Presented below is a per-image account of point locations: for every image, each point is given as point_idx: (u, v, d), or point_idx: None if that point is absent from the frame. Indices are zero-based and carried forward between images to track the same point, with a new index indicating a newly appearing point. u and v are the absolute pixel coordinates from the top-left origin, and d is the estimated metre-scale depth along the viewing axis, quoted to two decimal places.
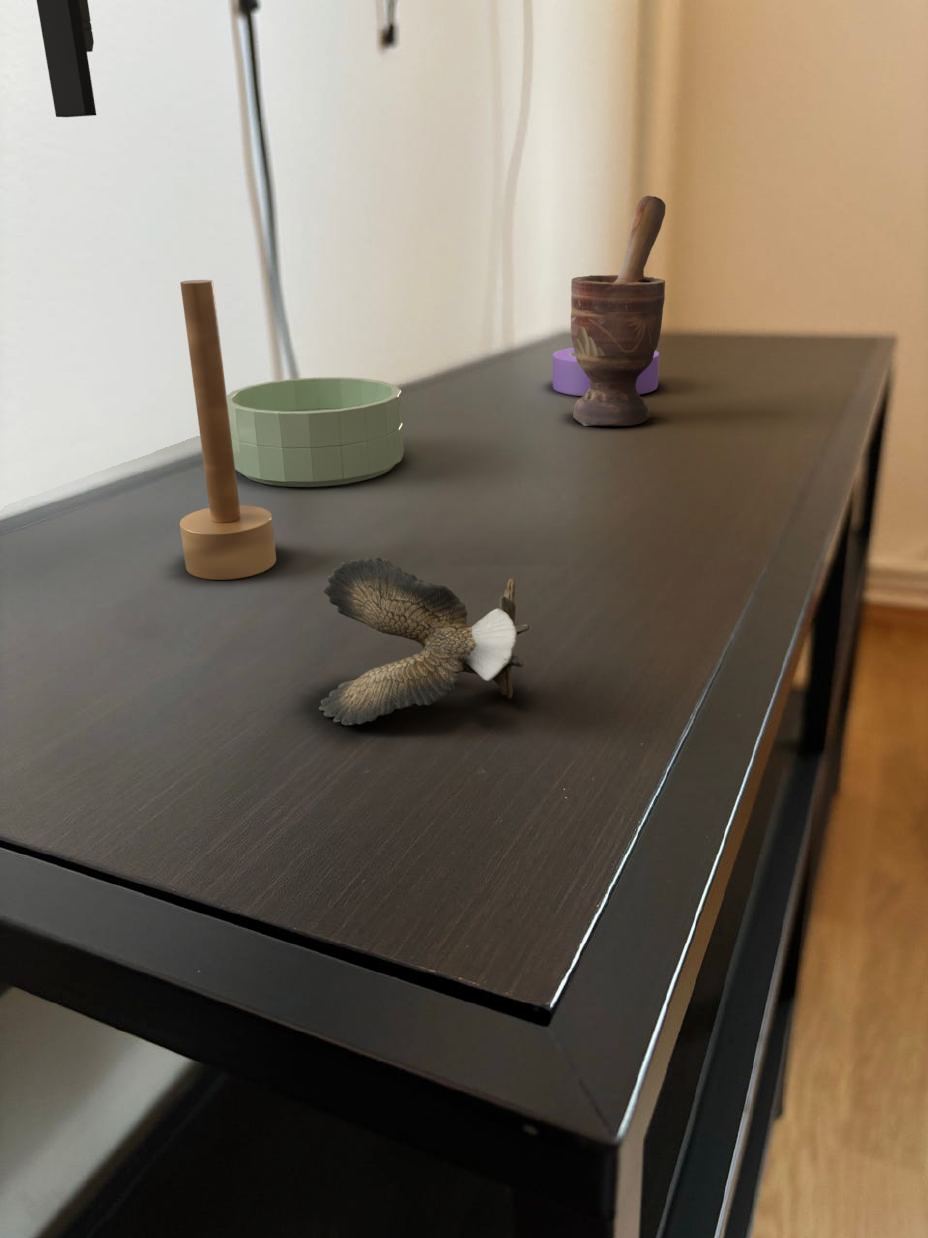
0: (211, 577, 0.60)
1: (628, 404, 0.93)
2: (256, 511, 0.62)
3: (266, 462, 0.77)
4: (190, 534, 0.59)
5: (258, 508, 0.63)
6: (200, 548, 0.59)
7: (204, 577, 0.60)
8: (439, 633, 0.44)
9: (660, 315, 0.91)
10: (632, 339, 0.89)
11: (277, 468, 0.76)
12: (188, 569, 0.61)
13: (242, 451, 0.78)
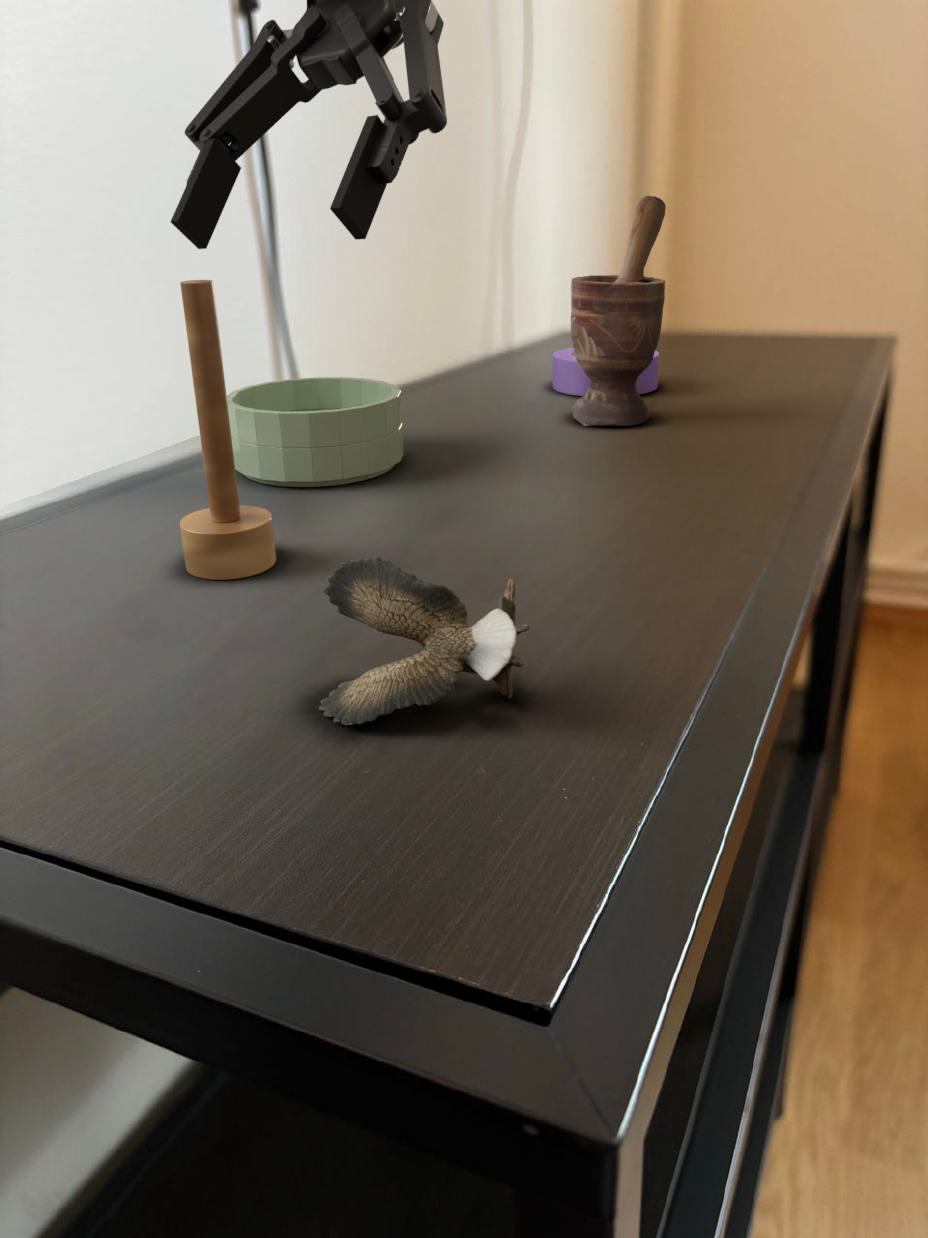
0: (211, 577, 0.60)
1: (628, 404, 0.93)
2: (256, 511, 0.62)
3: (266, 462, 0.77)
4: (190, 534, 0.59)
5: (258, 508, 0.63)
6: (200, 548, 0.59)
7: (204, 577, 0.60)
8: (439, 633, 0.44)
9: (660, 315, 0.91)
10: (632, 339, 0.89)
11: (277, 468, 0.76)
12: (188, 569, 0.61)
13: (242, 451, 0.78)
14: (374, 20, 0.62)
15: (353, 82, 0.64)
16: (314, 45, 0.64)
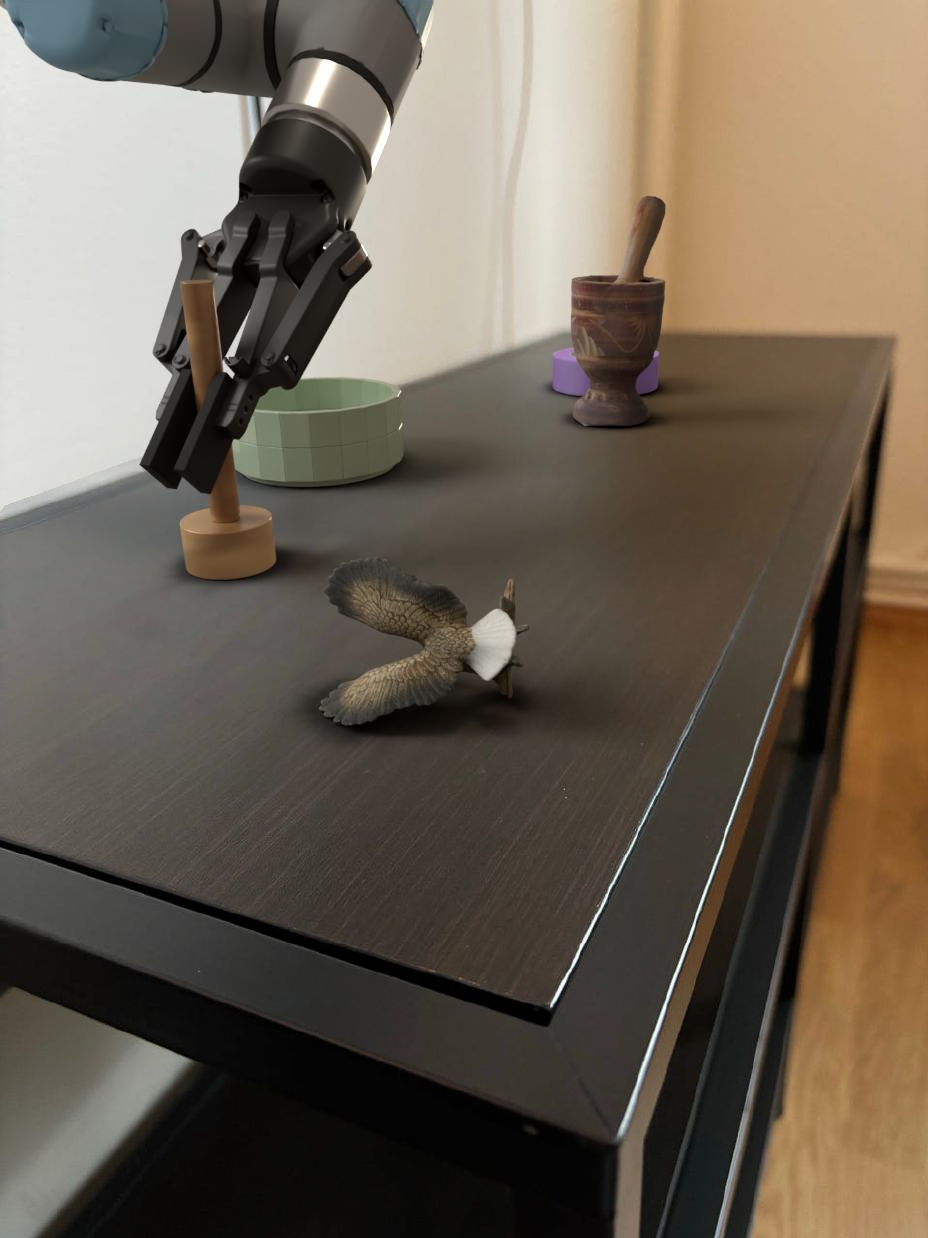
0: (211, 577, 0.60)
1: (628, 404, 0.93)
2: (256, 511, 0.62)
3: (266, 462, 0.77)
4: (190, 534, 0.59)
5: (258, 508, 0.63)
6: (200, 548, 0.59)
7: (204, 577, 0.60)
8: (439, 633, 0.44)
9: (660, 315, 0.91)
10: (632, 339, 0.89)
11: (277, 468, 0.76)
12: (188, 569, 0.61)
13: (242, 451, 0.78)
14: (307, 231, 0.59)
15: None
16: (248, 245, 0.60)
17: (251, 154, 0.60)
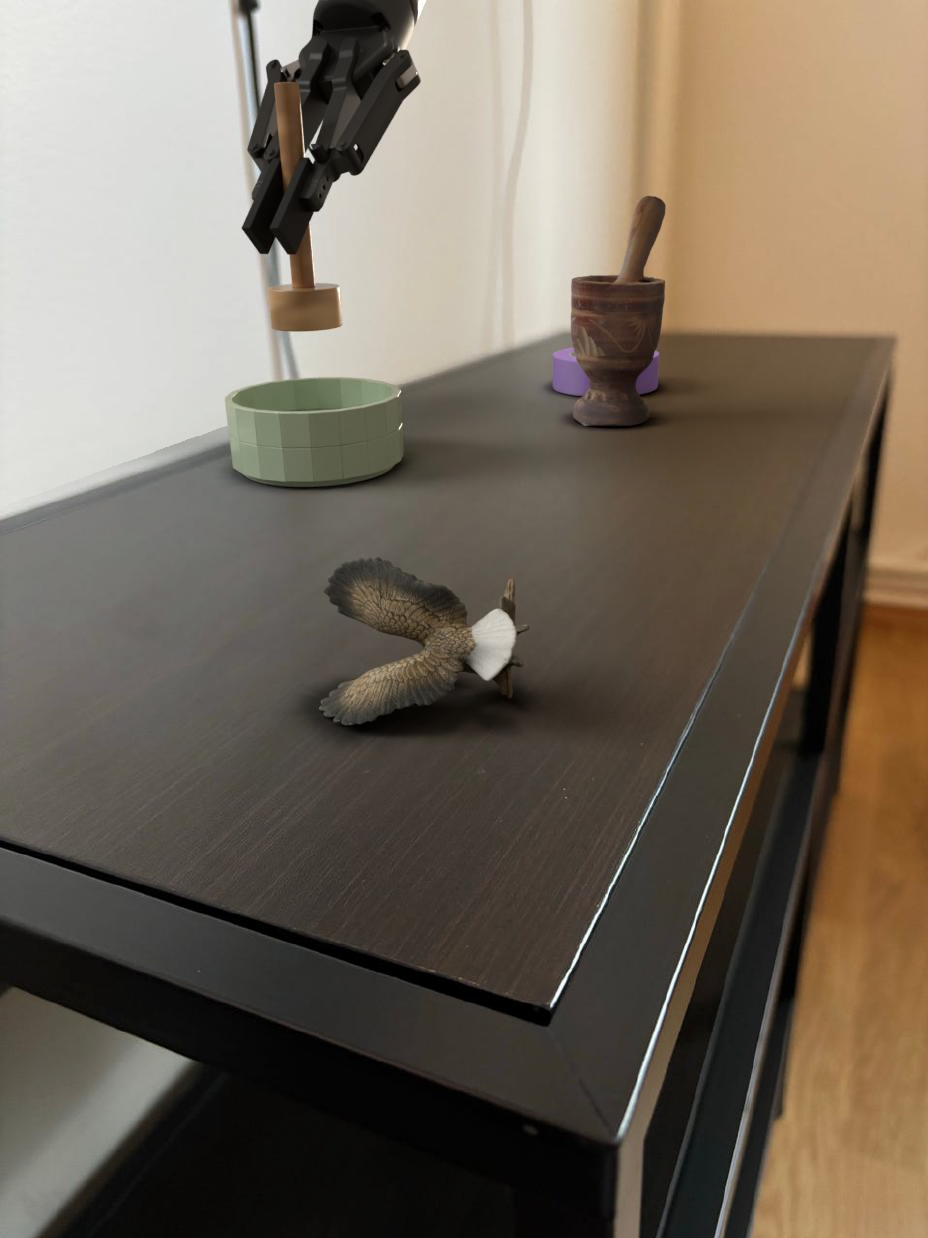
0: (293, 329, 0.76)
1: (628, 404, 0.93)
2: (327, 284, 0.78)
3: (266, 462, 0.77)
4: (277, 293, 0.75)
5: (328, 283, 0.79)
6: (285, 304, 0.75)
7: (288, 329, 0.76)
8: (439, 633, 0.44)
9: (660, 315, 0.91)
10: (632, 339, 0.89)
11: (277, 468, 0.76)
12: (274, 326, 0.77)
13: (242, 451, 0.78)
14: (369, 53, 0.75)
15: None
16: (322, 67, 0.76)
17: None
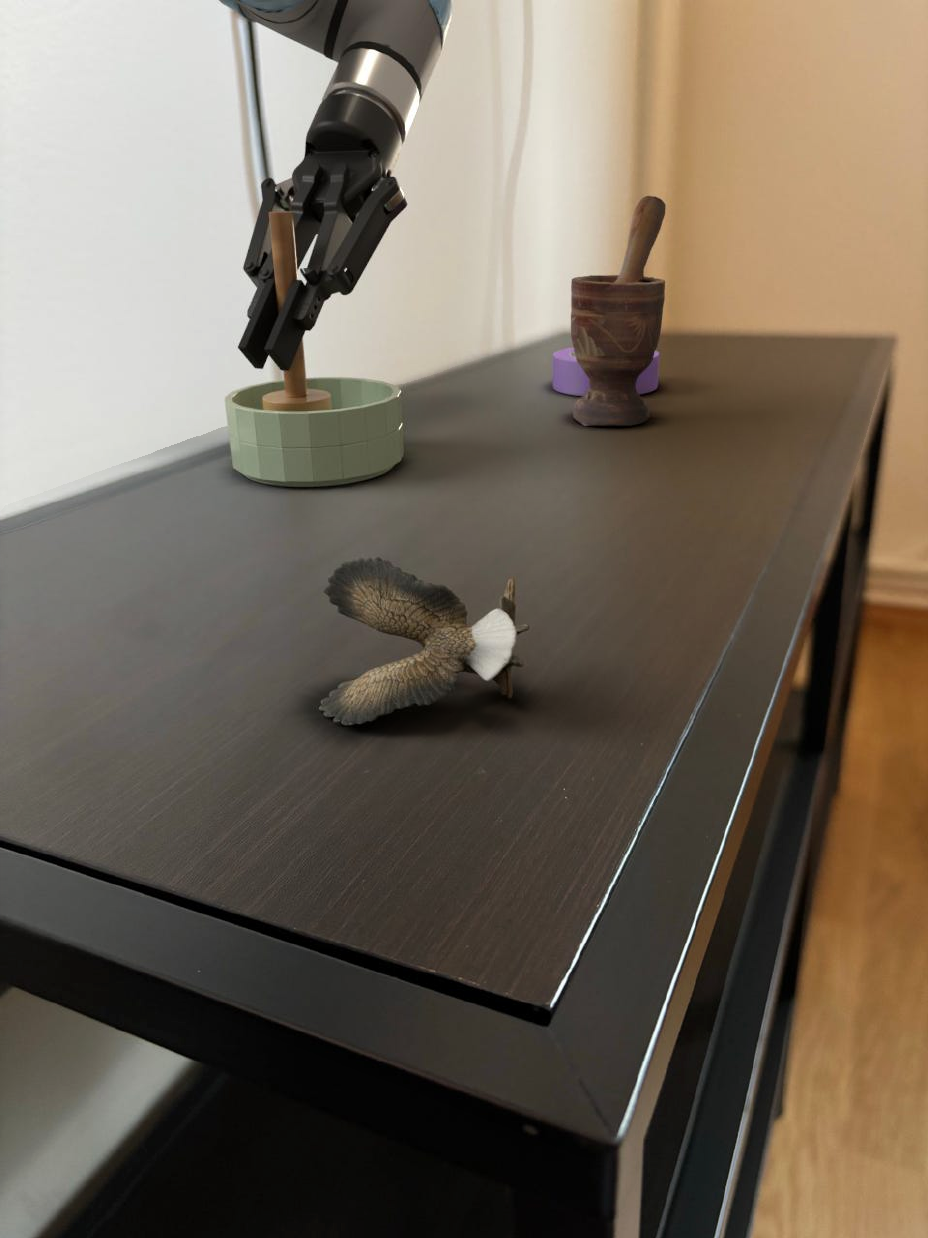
0: None
1: (628, 404, 0.93)
2: (318, 391, 0.82)
3: (266, 462, 0.77)
4: (271, 404, 0.79)
5: (320, 390, 0.83)
6: None
7: None
8: (439, 633, 0.44)
9: (660, 315, 0.91)
10: (632, 339, 0.89)
11: (277, 468, 0.76)
12: None
13: (242, 451, 0.78)
14: (359, 177, 0.79)
15: None
16: (314, 189, 0.80)
17: (316, 120, 0.80)
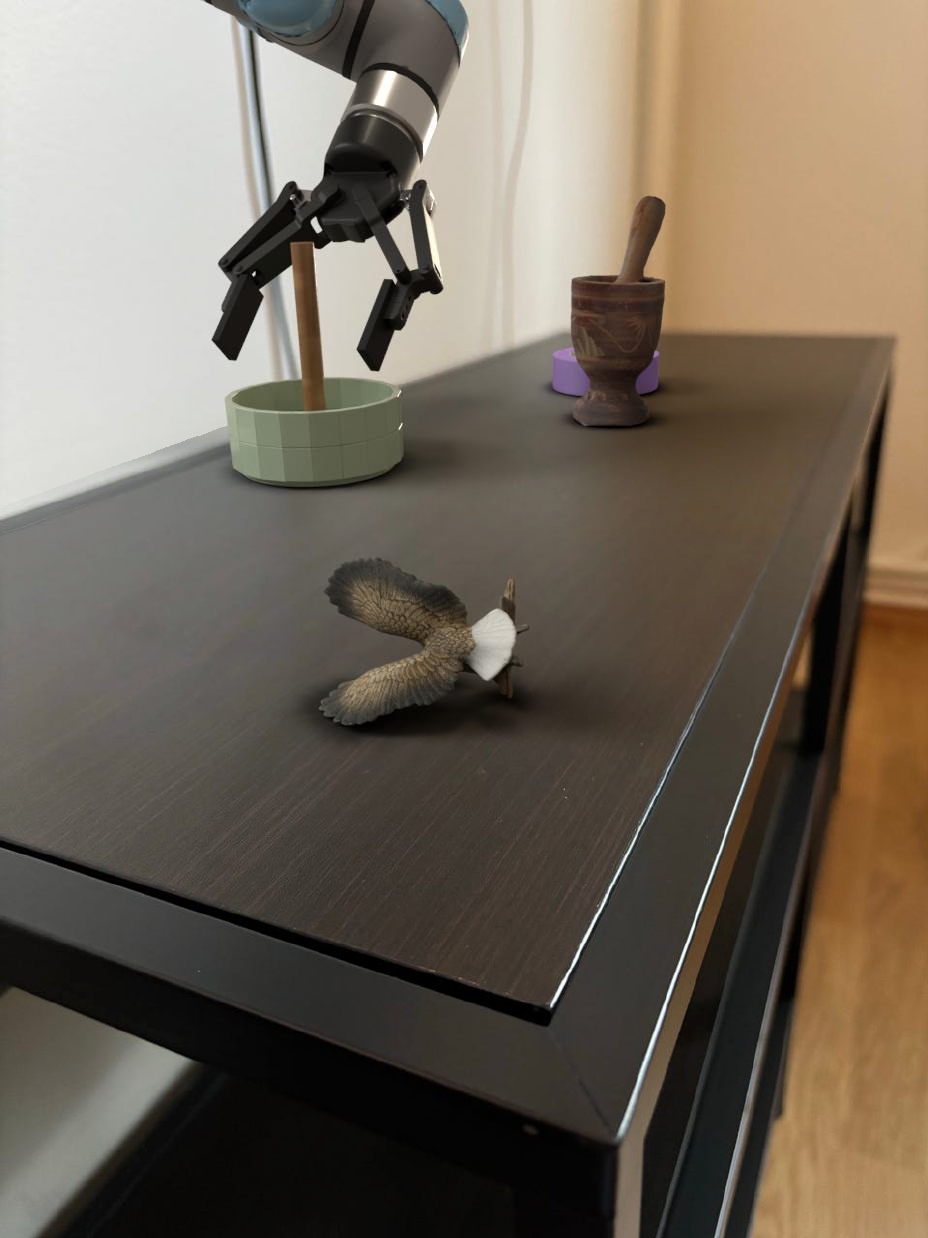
0: None
1: (628, 404, 0.93)
2: None
3: (266, 462, 0.77)
4: None
5: None
6: None
7: None
8: (439, 633, 0.44)
9: (660, 315, 0.91)
10: (632, 339, 0.89)
11: (277, 468, 0.76)
12: None
13: (242, 451, 0.78)
14: (384, 199, 0.79)
15: (362, 241, 0.81)
16: (332, 210, 0.81)
17: (335, 141, 0.80)
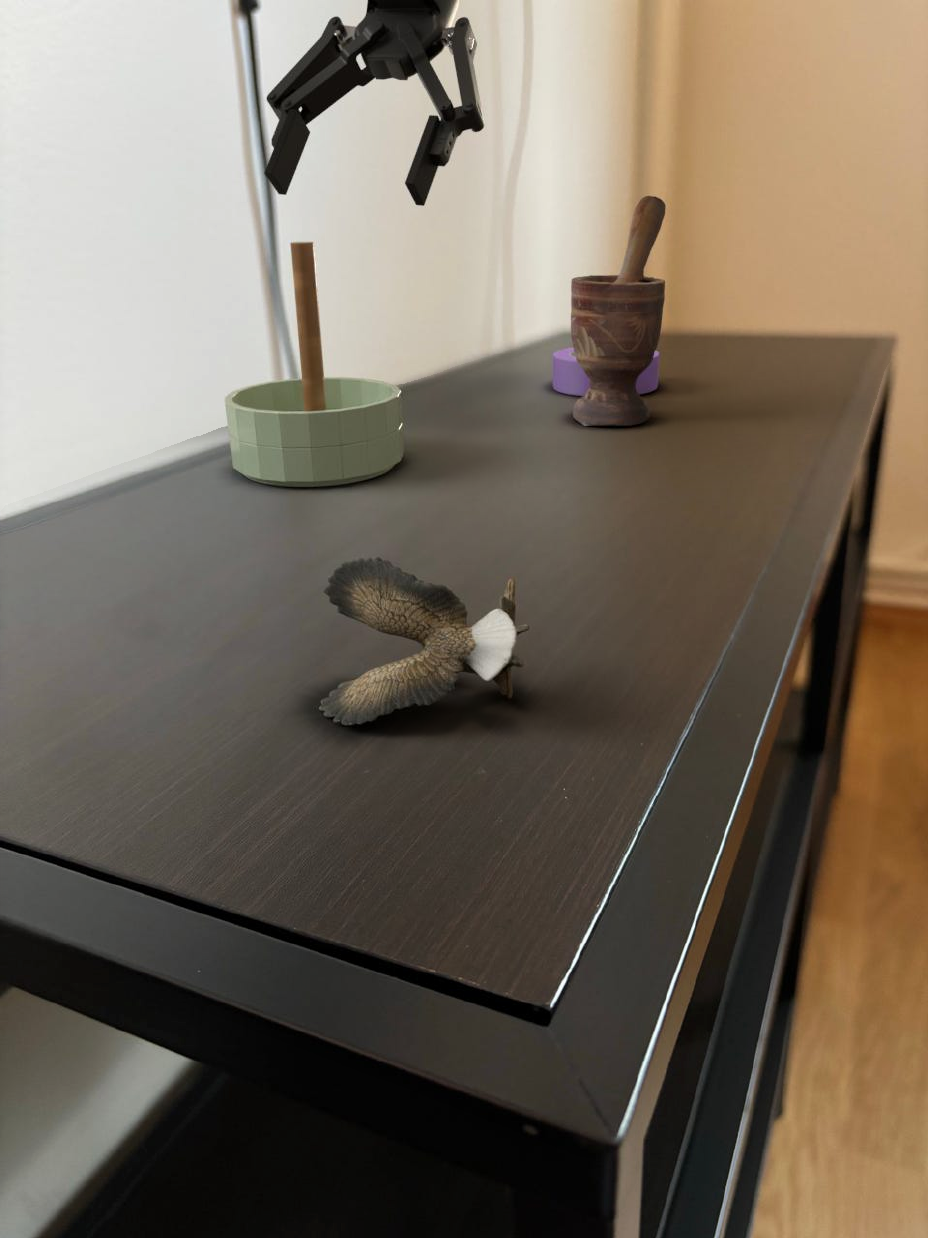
0: None
1: (628, 404, 0.93)
2: None
3: (266, 462, 0.77)
4: None
5: None
6: None
7: None
8: (439, 633, 0.44)
9: (660, 315, 0.91)
10: (632, 339, 0.89)
11: (277, 468, 0.76)
12: None
13: (242, 451, 0.78)
14: (427, 36, 0.84)
15: (405, 79, 0.86)
16: (377, 46, 0.85)
17: None
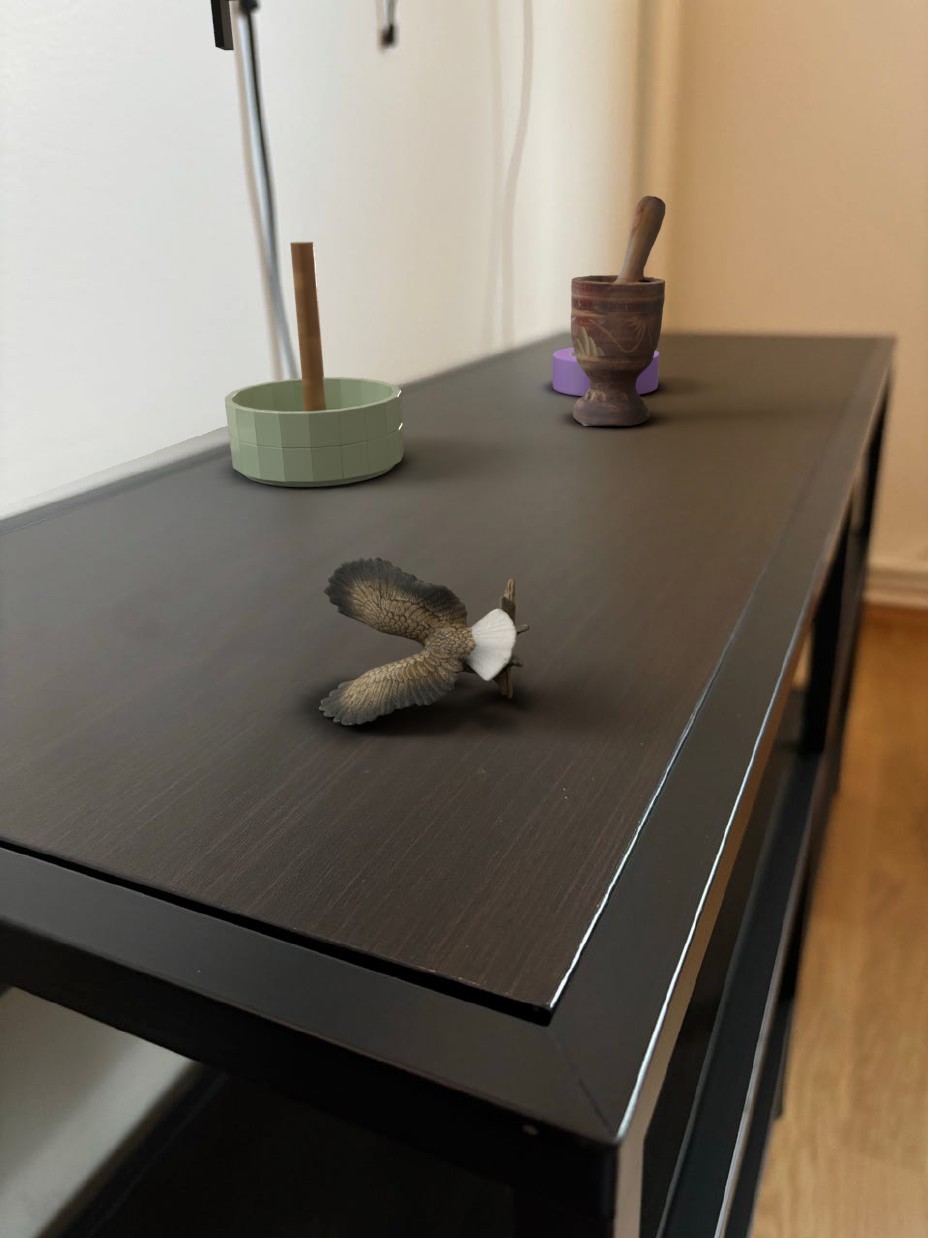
0: None
1: (628, 404, 0.93)
2: None
3: (266, 462, 0.77)
4: None
5: None
6: None
7: None
8: (439, 633, 0.44)
9: (660, 315, 0.91)
10: (632, 339, 0.89)
11: (277, 468, 0.76)
12: None
13: (242, 451, 0.78)
14: None
15: None
16: None
17: None
